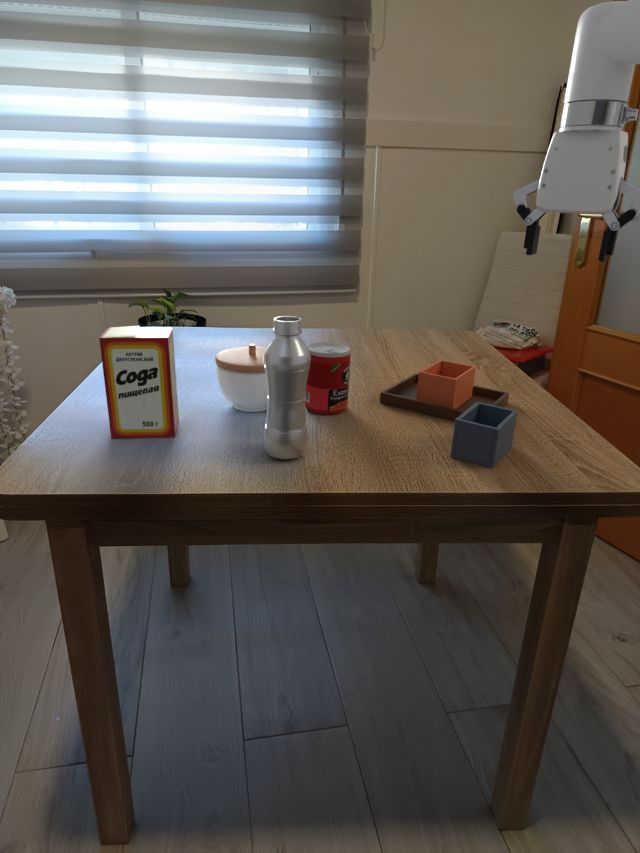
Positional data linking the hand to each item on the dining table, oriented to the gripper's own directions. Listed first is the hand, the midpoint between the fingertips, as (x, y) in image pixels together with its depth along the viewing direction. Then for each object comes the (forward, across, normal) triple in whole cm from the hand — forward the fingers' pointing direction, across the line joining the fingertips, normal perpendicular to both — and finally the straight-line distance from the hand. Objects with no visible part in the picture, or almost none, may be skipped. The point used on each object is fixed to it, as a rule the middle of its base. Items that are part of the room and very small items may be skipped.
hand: (565, 257), depth 81 cm
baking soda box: (+28, +51, +34) cm, 68 cm away
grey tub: (+28, +5, +9) cm, 30 cm away
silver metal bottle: (+28, +28, +28) cm, 49 cm away
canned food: (+28, +34, +8) cm, 45 cm away
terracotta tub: (+28, +18, -8) cm, 34 cm away
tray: (+28, +18, -8) cm, 34 cm away
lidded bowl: (+28, +45, +15) cm, 55 cm away
